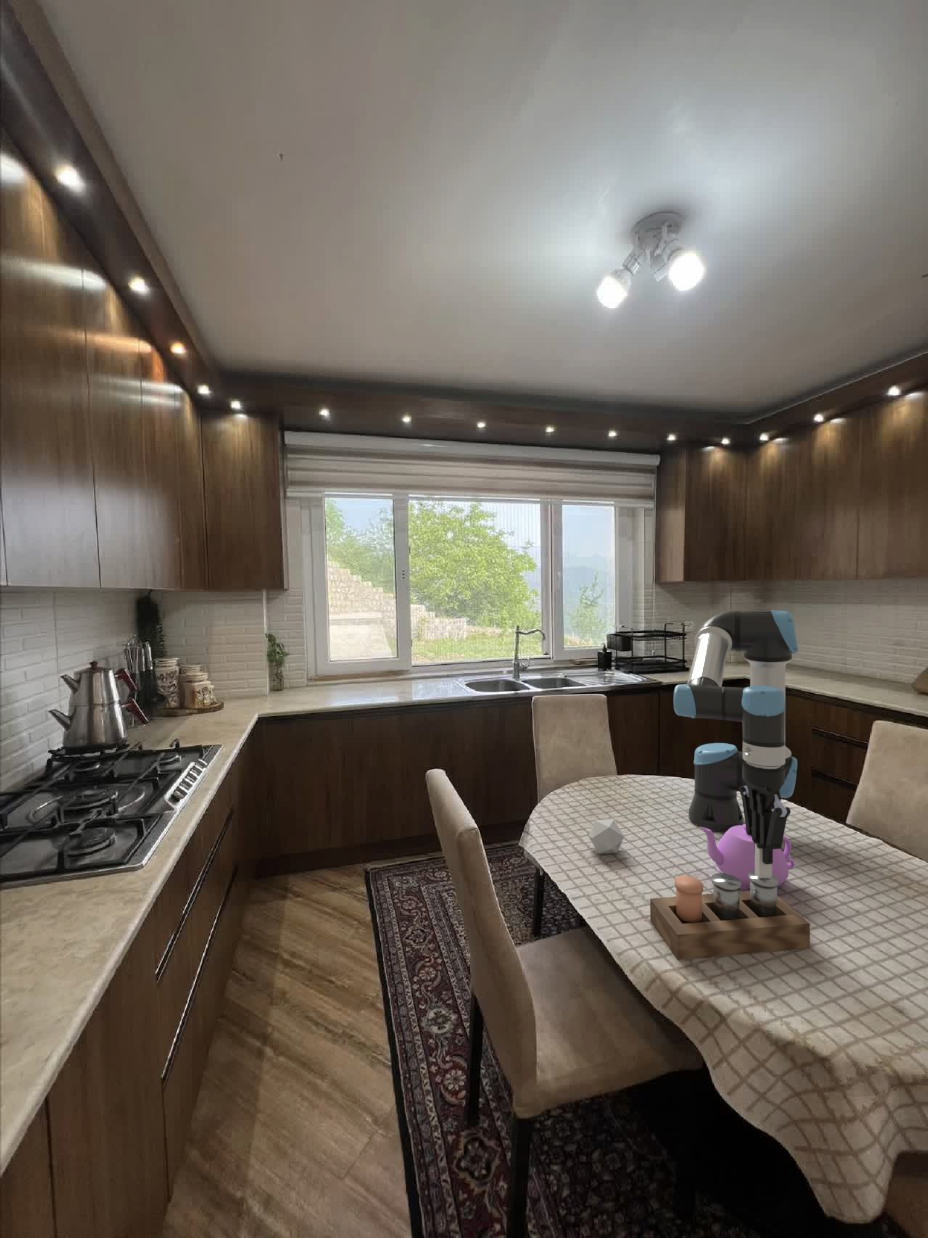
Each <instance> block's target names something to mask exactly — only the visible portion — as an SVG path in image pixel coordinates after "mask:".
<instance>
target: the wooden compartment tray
mask: <svg viewBox="0 0 928 1238" xmlns="http://www.w3.org/2000/svg"><path fill="white" fill-rule="evenodd" d="M649 907H650V908H649V909H650V911H649V912H650V915H649V916H650V920H649V922H650V923H651V924H652V925H653V927H654V929H655V930H656V932H658V934H659V936H660V937H661V939H663V941H664V943H665V944H666V945H667V947H668V948H669V950H670V951H671V952H672V954H673V955H674V957H675V958H676V959H677V961H680V960H681V961H682V960H692V959H705V958H715V957H724V956H725V957H726V956H735V955H737V956H738V955H748V954H759V953H760V954H761V953H771V952H781V951H783V952H784V951H792V950H793V951H794V950H803V949H804V950H805V949H811V932H810V931H811V923H810V922H809V921H808V920H807V919H805V918H804V917H803V916H802V915H800V913H798V912H797V911H796V910H795V909H794V908H792V907H791V906H790V905H789V904H788V903H786V902H785V901H784V900H783V899H782V898H780V897H779V896H778V895H777V914H776V915H775V916H770V917H769V916H763V915H760V914H757V913H755V912H754V911H753V910H752V909H751V908H750V890H749V891H740V916H739V918H738V919H734V920H729V919H725V918H722V917H720V916H718V915H717V914H715V912H714V909H713V893H705V894H703V893H702V920H701V921H700V922H697V923H690V922H686V921H683V920H682V919H680V918H679V917H678V916H677V914H676V896H665V897H655V898H652V897H651V898H649Z"/></svg>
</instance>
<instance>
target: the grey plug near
mask: <svg viewBox="0 0 928 1238" xmlns="http://www.w3.org/2000/svg"><path fill="white" fill-rule="evenodd" d="M748 878H749V881H750V887H749V891H750V908H751V909H752V910H753V911H754V912H755V913H757V914H760V915H763V916H769V917H770V916H775V915H776V914H777V896H778V892H777V888H778V887H779V886H780V885H779V880H778V878H777V877H776V876H775V875H773V874H772V878H758V877H757V876H756V875H755V871H751V872H749V874H748ZM778 885H779V886H778Z"/></svg>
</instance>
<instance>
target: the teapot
mask: <svg viewBox="0 0 928 1238" xmlns="http://www.w3.org/2000/svg"><path fill="white" fill-rule="evenodd" d="M699 828H700V829H701V830H702V831H703V832H704V833H705V836H706V847H707V853H708V855H709V857H710V859H711V860H712V861H713V862H714V863H715V865H716V866H717V868H718V869H719V870H720V871H721V872H720V873H725V874H730V875H732V876H735V877H737V878H738V879H739V880H740V881H741V889H740V891H750V881H749V878H748V874H749V872H751V871H755V855H754V842H753V841H752V836H751V835H748V834H747V831H746V824H745V823H744V824H743V825H739V826H733V827H731V828H730V829H729V830H728V831H727V832H724V834H723V835H722V837H721V838H720V840H719V841H718V843H716V837H715V833H714V831H713V830H710V829H707V828H704V827H700V826H699ZM751 829H752V828H751ZM783 841H784V843H785V844H784V845H785V847H784V849H783V850H782V848H781V849H773V863H772V874H773V875H775V876H776V877H777V878H778V880H779V885H778V887H779V886H780V885H782V884H784V882H785V881H786V880H788V877H789V870H791V869H794V867H795V861H794V860H793V859H792V858H791V857H790V854H791V851H792V842H791V841H790V839H789V838H788V837H787V836H786V835H784V836H783ZM788 862H789V863H788ZM778 887H777V893H779V891H780V889H779V888H778Z"/></svg>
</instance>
